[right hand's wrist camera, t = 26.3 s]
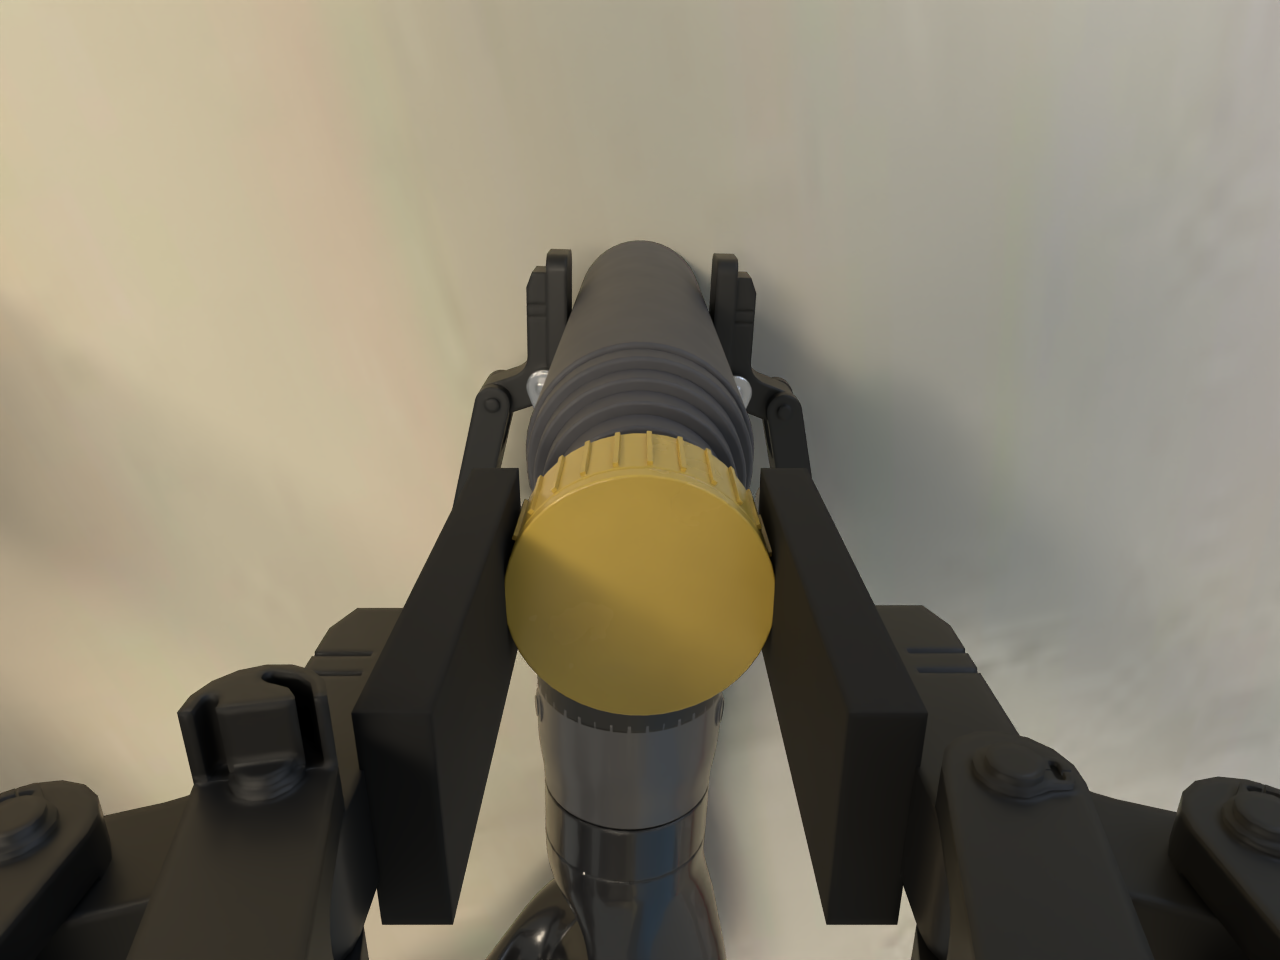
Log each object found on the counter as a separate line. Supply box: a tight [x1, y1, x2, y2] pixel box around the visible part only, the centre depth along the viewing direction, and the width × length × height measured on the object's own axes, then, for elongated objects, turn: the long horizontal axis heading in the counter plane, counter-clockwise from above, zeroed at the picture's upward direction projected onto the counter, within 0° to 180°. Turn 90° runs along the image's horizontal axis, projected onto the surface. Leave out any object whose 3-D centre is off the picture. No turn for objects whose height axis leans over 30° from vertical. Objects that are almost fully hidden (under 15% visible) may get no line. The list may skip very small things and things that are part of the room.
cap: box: [505, 431, 775, 715], centre depth 14 cm, size 4×4×2 cm
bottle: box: [526, 241, 754, 492], centre depth 25 cm, size 5×5×24 cm
